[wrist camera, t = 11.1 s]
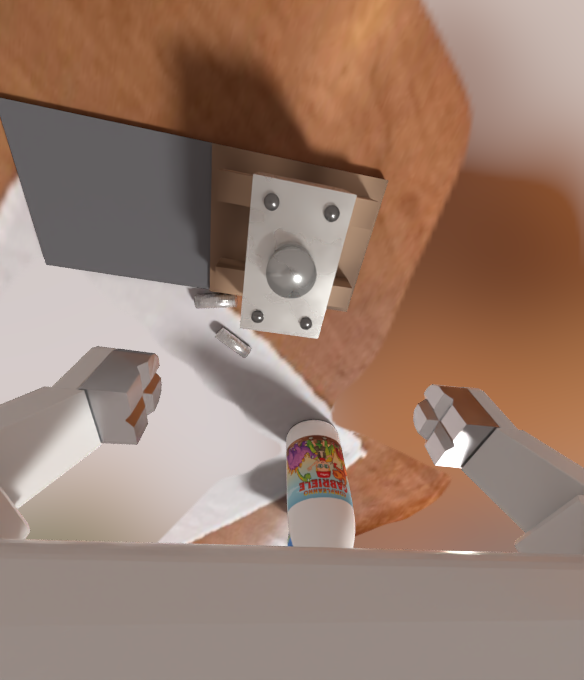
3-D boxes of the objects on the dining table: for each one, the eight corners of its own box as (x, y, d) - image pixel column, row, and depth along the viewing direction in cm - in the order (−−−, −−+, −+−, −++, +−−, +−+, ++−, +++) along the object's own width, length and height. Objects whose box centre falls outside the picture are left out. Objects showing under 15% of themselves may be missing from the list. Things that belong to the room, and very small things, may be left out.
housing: (259, 171, 19) (251, 174, 14) (341, 188, 20) (361, 196, 15) (247, 299, 25) (238, 335, 20) (312, 309, 25) (319, 346, 20)
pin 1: (198, 311, 28) (193, 303, 27) (199, 299, 29) (195, 292, 27) (237, 309, 28) (234, 302, 27) (237, 298, 29) (234, 290, 27)
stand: (211, 287, 27) (203, 302, 25) (214, 143, 21) (203, 140, 18) (345, 308, 29) (351, 324, 26) (385, 179, 23) (399, 182, 20)
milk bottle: (339, 449, 42) (376, 637, 25) (289, 454, 43) (294, 642, 26) (337, 415, 38) (379, 613, 21) (282, 421, 38) (281, 620, 22)
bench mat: (49, 263, 26) (46, 264, 25) (-1, 97, 19) (-6, 96, 19) (221, 289, 28) (220, 291, 27) (227, 146, 21) (226, 146, 21)
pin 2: (216, 337, 29) (224, 327, 29) (214, 336, 30) (221, 326, 30) (245, 358, 31) (252, 348, 31) (242, 357, 32) (249, 347, 32)
